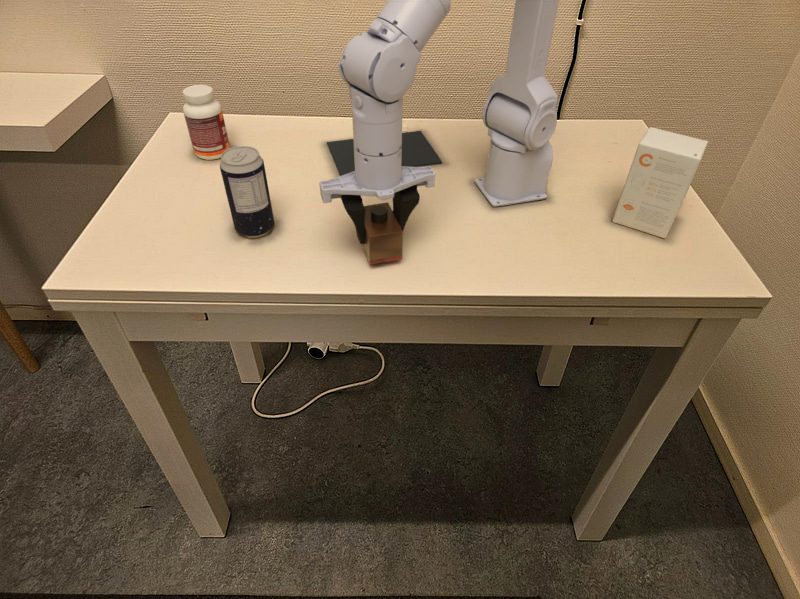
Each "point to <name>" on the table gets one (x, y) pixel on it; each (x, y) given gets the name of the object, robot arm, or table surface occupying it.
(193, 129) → the pill bottle
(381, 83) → the robot arm
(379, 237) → the stamp
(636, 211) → the small box
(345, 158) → the desk mat
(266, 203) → the beverage can
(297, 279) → the table surface
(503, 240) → the table surface
